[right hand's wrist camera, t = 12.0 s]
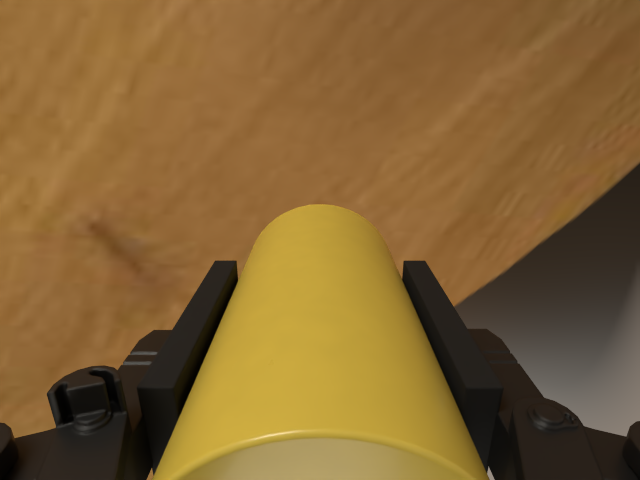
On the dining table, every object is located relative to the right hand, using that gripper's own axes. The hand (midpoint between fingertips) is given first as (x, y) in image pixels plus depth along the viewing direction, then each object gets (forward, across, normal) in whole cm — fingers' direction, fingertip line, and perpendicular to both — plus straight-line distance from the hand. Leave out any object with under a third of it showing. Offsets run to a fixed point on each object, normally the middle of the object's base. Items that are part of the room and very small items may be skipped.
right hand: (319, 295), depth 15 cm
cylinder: (+2, 0, 0) cm, 2 cm away
